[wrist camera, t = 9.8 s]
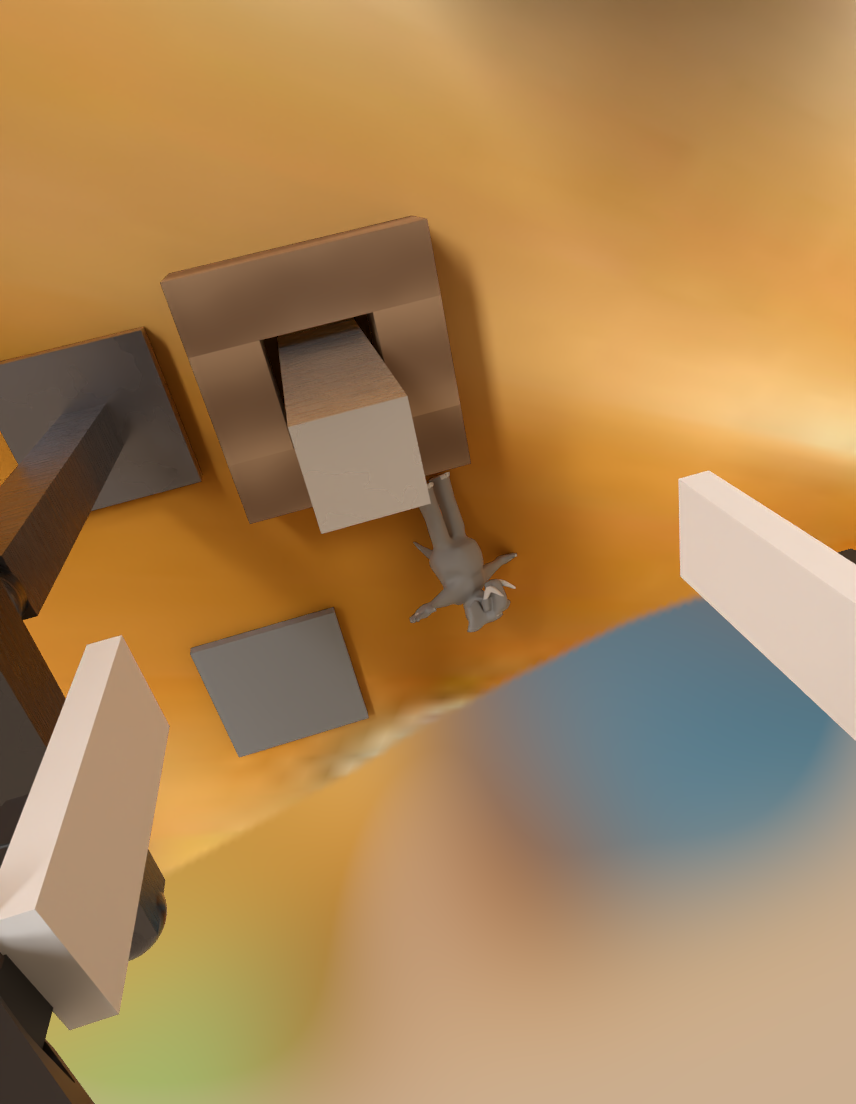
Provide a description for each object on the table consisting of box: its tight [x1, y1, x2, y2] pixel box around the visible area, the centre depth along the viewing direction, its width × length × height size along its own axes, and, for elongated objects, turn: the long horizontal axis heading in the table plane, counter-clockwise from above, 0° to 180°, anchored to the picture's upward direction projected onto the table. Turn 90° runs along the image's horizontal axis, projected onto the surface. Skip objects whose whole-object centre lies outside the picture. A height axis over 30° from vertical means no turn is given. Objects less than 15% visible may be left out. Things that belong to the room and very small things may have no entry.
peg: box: [277, 318, 431, 534], centre depth 30 cm, size 4×4×15 cm
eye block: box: [160, 216, 471, 524], centre depth 35 cm, size 12×12×4 cm
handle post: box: [0, 326, 202, 620], centre depth 28 cm, size 8×8×17 cm
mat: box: [190, 607, 369, 757], centre depth 45 cm, size 9×9×1 cm
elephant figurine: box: [410, 472, 517, 632], centre depth 40 cm, size 10×6×9 cm
